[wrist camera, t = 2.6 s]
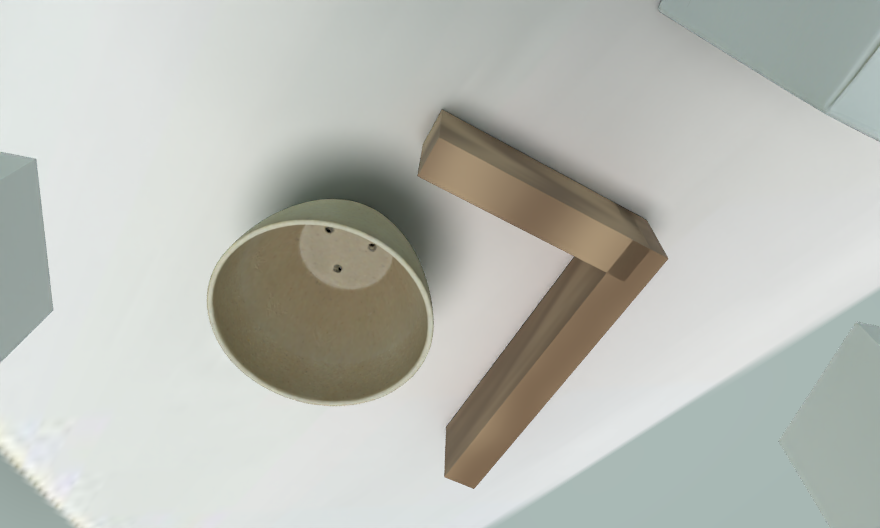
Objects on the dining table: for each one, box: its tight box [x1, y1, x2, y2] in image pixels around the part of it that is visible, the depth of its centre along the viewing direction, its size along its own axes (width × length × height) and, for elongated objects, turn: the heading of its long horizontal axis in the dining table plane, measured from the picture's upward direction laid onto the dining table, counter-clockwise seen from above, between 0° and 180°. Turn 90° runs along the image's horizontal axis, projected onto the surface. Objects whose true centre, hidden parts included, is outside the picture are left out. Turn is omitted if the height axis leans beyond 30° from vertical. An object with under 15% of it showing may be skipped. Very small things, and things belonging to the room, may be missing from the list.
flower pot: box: [207, 199, 434, 406], centre depth 31 cm, size 10×10×7 cm
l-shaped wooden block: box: [417, 110, 668, 489], centre depth 34 cm, size 12×18×4 cm, turn 152°
